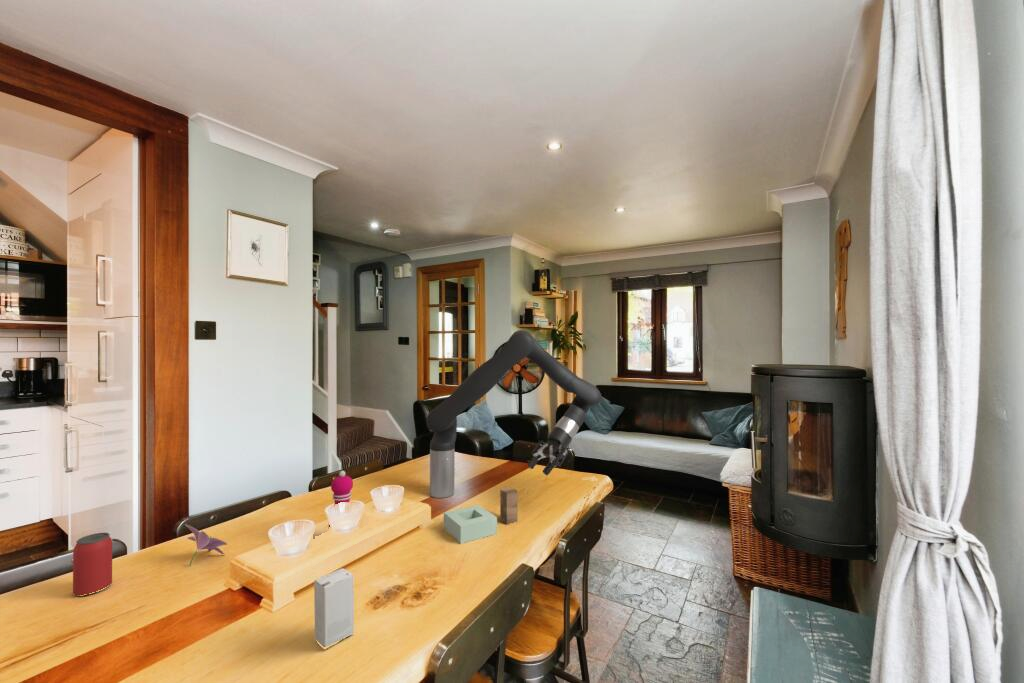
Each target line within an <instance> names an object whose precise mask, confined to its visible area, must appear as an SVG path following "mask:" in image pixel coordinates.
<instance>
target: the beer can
mask: <svg viewBox="0 0 1024 683" xmlns="http://www.w3.org/2000/svg"><path fill="white" fill-rule="evenodd" d="M110 535H111V534H110V533H109V532H97V533H93V534H89V535H85V536H82V537H81V538H79V539H77V540H76V542H75V543H76V544H75V545H74V548H73V551H72V552H73V553H72V594H73V595H74V594H75V595H74V596H76V595H84V594H89V593H92V592H96V591H98V590H101V589H103V588H105V587H107V586H108V585H110V584H111V585H112V583H113V540H112V538H111V536H110ZM111 585H110V586H111ZM107 588H108V587H107Z"/></svg>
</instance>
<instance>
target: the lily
mask: <svg viewBox="0 0 1024 683" xmlns="http://www.w3.org/2000/svg"><path fill="white" fill-rule="evenodd" d="M184 526H186V527H187V528H188V529H189V530H190V531H191V532H192V535H194V536H188V537H187V540H190V541H193V542H195V543H196V550H195V553H194V555H192V558H191V560H190V563H189V565H188V567H189V566H190V567H191V566H192V563H193V560H194V558H195V557H196V555H197V554H198V552H199V551H201V550H207V551H209V550H211V551H216V552H217V553H220V554H221V555H223V554H225V553H224V552H223V550H221V548H219V547H222V546H226V545H228V543H227V542H225V541H223V540H221V539H219V538H218V537H217V538H216V537H212V536H211V535H208V534H207V533H206V532H205V531H203V530H201V531H199V530H198V529H197V528H195V527H194V526H192V525H189V524H185V523H184Z"/></svg>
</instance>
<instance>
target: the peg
mask: <svg viewBox="0 0 1024 683" xmlns="http://www.w3.org/2000/svg"><path fill="white" fill-rule="evenodd" d="M499 493H500V494H499V496H500V501H499V503H500V504H499V505H500V508H499V510H500V513H499V514H500V517H499V518H500V520H501V522H502V521H503V522H504V523H503V522H502V523H503V524H505V525H506V524H508V525H511V524H510V523H512V524H515V523H514V522H516V523H518V522H517V521H518V515H519V514H518V512H519V511H518V510H519V509H518V504H519V503H518V490H517V489H515V488H513V487H506V488H502V489H501V488H500V492H499ZM500 520H499V521H500Z"/></svg>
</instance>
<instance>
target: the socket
mask: <svg viewBox="0 0 1024 683" xmlns="http://www.w3.org/2000/svg"><path fill="white" fill-rule="evenodd" d="M443 530H445V531H446V533H448V534H449V533H450V534H451V535H452V536H453V539H455V540H456V542H458V541H459V542H460V543H462V544H465V542H466V543H469V542H472V540H473V541H476V539H477V540H480V539H483V537H484V538H488V537H491V536H494V534H495V535H497V534H498V517H497V516H496V515H495V514H493V513H491V512H490V511H488V510H487V509H485V508H484V507H482V506H480V505H479V504H475V505H471V506H467V507H463V508H462V507H461V508H458V509H454V510H449V511H445V512H443ZM450 534H449V535H450ZM451 535H450V536H451ZM452 536H451V537H452ZM487 536H488V537H487ZM468 541H469V542H468ZM459 542H458V543H459ZM460 543H459V544H460Z"/></svg>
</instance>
